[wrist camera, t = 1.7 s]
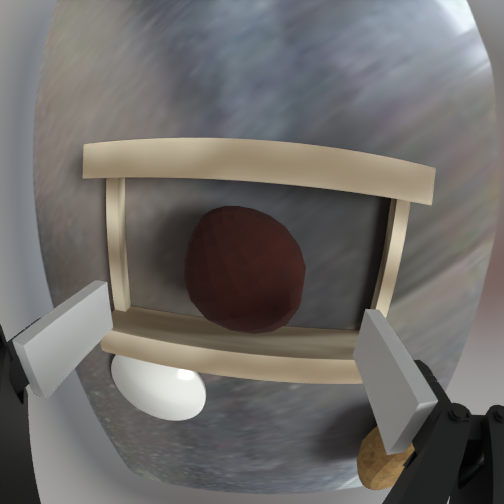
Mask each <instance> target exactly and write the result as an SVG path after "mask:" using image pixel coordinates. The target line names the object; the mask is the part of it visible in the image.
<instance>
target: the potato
mask: <svg viewBox="0 0 504 504" xmlns="http://www.w3.org/2000/svg"><path fill="white" fill-rule="evenodd" d="M414 450H415V449H414V446H413V444H412V443H411V444H410V445H409V447H408V448H407V450H406V451H405V452H402V453H396V454H390V455H387V453H386V450H385V447H384V444H383V441H382V437H381V434H380V431H379V428H378V425H377V426H376V427H375V428H374V429H373V430H372V431H371V432H370V433H369V434H368V435H367V436H366V437H365V438H364V439H363V440H362V443H361V446H360V449H359V453H358V456H357V469H358V475H359V478H360V481H361V482H362V484H363V485H364V486H365V487H366V488H369V489H371V490H380V489H385V488H388V487H391V486H393V485H394V484H395V483H396V481H397V479H398V477H399V476H400V474H401V472H402V470H403V469H404V467H405V466H402V465H403V464H404V463H405V462H406V460H407V459H408V458H409V456H410V455H411V454H412V453H413V451H414Z"/></svg>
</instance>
